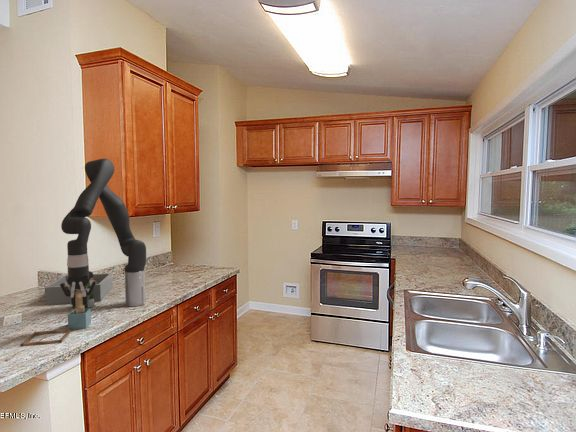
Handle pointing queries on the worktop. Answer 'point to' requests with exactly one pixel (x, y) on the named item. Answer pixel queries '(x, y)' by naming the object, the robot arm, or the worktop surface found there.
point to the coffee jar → (90, 297)
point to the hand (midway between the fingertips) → (79, 304)
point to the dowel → (79, 302)
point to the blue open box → (79, 319)
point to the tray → (26, 342)
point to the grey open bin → (57, 295)
